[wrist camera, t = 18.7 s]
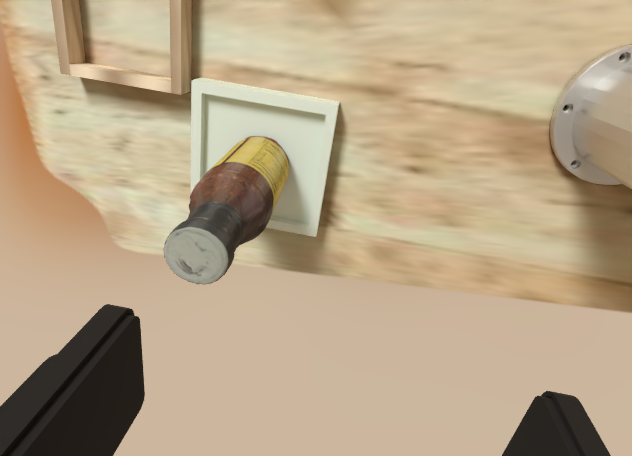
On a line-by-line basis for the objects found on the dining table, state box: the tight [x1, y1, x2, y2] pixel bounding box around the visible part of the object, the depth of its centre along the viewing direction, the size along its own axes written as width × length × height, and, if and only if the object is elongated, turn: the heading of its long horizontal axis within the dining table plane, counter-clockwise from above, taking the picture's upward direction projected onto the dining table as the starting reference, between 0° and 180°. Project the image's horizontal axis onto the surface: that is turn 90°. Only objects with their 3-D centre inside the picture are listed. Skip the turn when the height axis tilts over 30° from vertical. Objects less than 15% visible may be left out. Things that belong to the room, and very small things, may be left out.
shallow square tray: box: [191, 77, 340, 237], centre depth 42 cm, size 14×14×2 cm
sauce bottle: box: [164, 136, 289, 284], centre depth 33 cm, size 7×6×20 cm
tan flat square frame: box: [51, 0, 192, 95], centre depth 37 cm, size 12×13×2 cm
